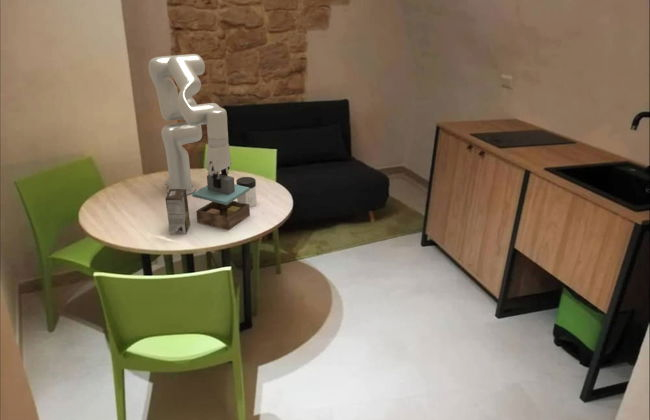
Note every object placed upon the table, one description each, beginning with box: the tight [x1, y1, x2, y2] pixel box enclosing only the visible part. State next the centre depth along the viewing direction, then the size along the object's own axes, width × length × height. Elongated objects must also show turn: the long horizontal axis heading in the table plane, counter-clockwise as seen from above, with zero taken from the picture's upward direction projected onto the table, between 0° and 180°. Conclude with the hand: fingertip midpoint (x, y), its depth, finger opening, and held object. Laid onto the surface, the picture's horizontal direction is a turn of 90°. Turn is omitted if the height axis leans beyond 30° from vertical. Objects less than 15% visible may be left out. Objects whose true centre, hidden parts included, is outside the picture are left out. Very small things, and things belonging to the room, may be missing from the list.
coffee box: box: [165, 189, 191, 235], centre depth 187 cm, size 9×6×16 cm
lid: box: [191, 173, 250, 205], centre depth 193 cm, size 16×16×7 cm
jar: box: [236, 176, 257, 208], centre depth 210 cm, size 9×8×12 cm
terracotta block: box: [206, 208, 220, 215], centre depth 196 cm, size 4×4×4 cm
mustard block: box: [227, 206, 240, 217], centre depth 199 cm, size 4×4×4 cm
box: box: [196, 200, 251, 231], centre depth 198 cm, size 15×15×6 cm
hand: (220, 185), depth 193 cm, fingers closed on lid, 4 cm apart
